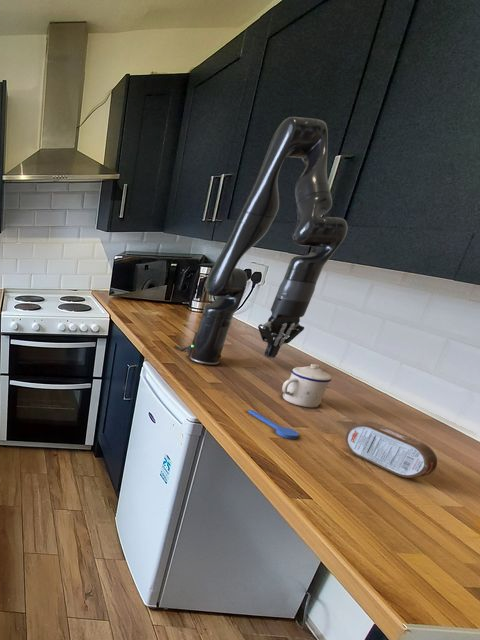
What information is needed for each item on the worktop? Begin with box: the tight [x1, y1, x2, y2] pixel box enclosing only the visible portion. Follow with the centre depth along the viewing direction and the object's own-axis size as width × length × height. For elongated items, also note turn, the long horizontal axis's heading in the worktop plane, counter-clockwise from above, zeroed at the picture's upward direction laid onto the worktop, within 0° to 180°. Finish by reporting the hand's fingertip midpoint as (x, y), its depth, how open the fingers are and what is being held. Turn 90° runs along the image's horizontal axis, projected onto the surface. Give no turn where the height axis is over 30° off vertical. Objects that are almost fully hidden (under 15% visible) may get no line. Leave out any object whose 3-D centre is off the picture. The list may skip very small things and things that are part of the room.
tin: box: [345, 421, 438, 479], centre depth 87 cm, size 15×3×8 cm, turn 17°
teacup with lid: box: [281, 363, 332, 408], centre depth 116 cm, size 12×9×12 cm
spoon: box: [247, 409, 299, 440], centre depth 104 cm, size 14×4×1 cm, turn 9°
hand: (269, 356), depth 115 cm, fingers closed
